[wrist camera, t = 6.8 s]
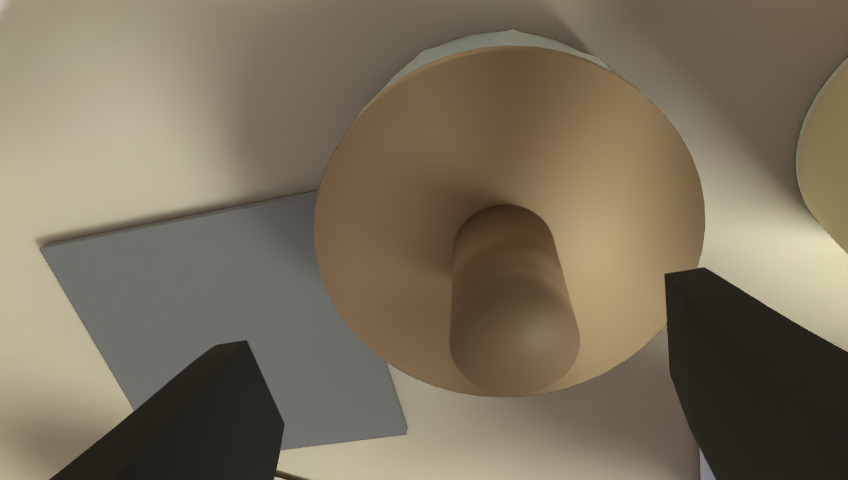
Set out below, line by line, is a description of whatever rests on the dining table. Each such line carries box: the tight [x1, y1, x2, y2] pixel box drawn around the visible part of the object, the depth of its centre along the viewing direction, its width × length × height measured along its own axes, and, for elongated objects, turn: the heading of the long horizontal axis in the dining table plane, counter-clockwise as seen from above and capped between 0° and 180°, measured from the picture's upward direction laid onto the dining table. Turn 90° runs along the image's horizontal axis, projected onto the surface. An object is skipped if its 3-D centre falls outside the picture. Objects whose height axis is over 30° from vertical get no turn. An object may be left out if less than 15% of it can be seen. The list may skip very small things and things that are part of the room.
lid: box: [313, 45, 705, 397], centre depth 14 cm, size 10×10×5 cm
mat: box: [39, 190, 408, 450], centre depth 23 cm, size 11×11×1 cm
